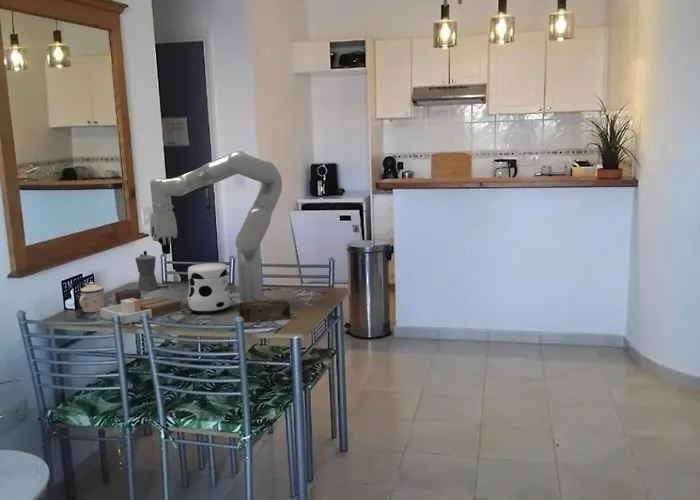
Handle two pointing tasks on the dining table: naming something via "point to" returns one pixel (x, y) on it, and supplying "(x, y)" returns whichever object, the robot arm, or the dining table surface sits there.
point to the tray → (127, 318)
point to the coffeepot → (146, 272)
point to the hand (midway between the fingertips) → (166, 253)
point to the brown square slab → (160, 305)
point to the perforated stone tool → (127, 295)
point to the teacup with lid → (92, 298)
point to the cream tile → (127, 306)
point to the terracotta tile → (136, 304)
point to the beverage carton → (264, 310)
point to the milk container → (208, 288)
